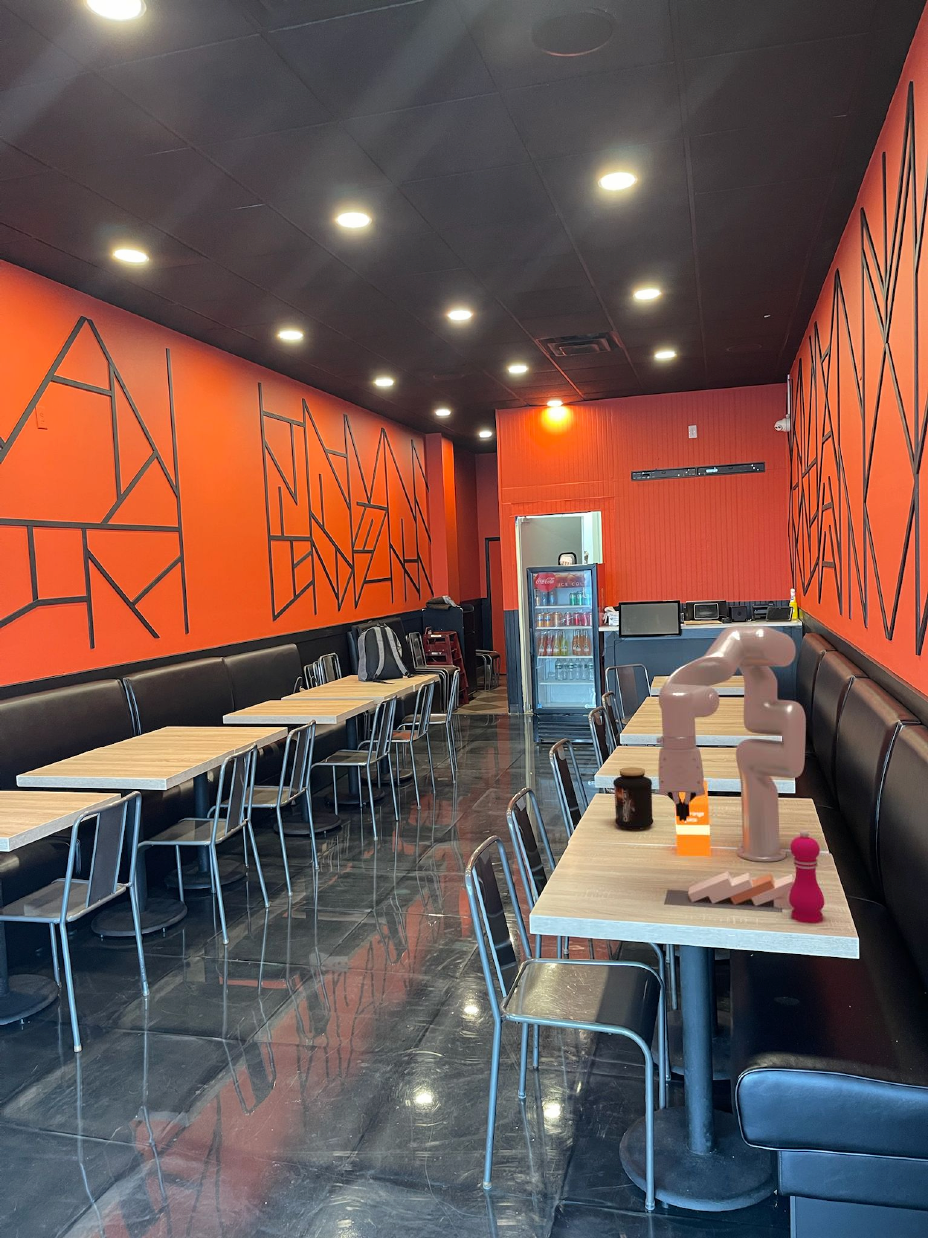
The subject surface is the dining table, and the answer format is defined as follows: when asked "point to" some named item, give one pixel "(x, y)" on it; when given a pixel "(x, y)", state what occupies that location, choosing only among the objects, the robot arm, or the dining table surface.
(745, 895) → the domino
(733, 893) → the domino
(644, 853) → the dining table surface
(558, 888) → the dining table surface
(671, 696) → the robot arm
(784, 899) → the domino
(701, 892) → the domino
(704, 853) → the orange juice
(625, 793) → the container
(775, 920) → the dining table surface
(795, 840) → the pepper mill
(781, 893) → the domino
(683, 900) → the mat
